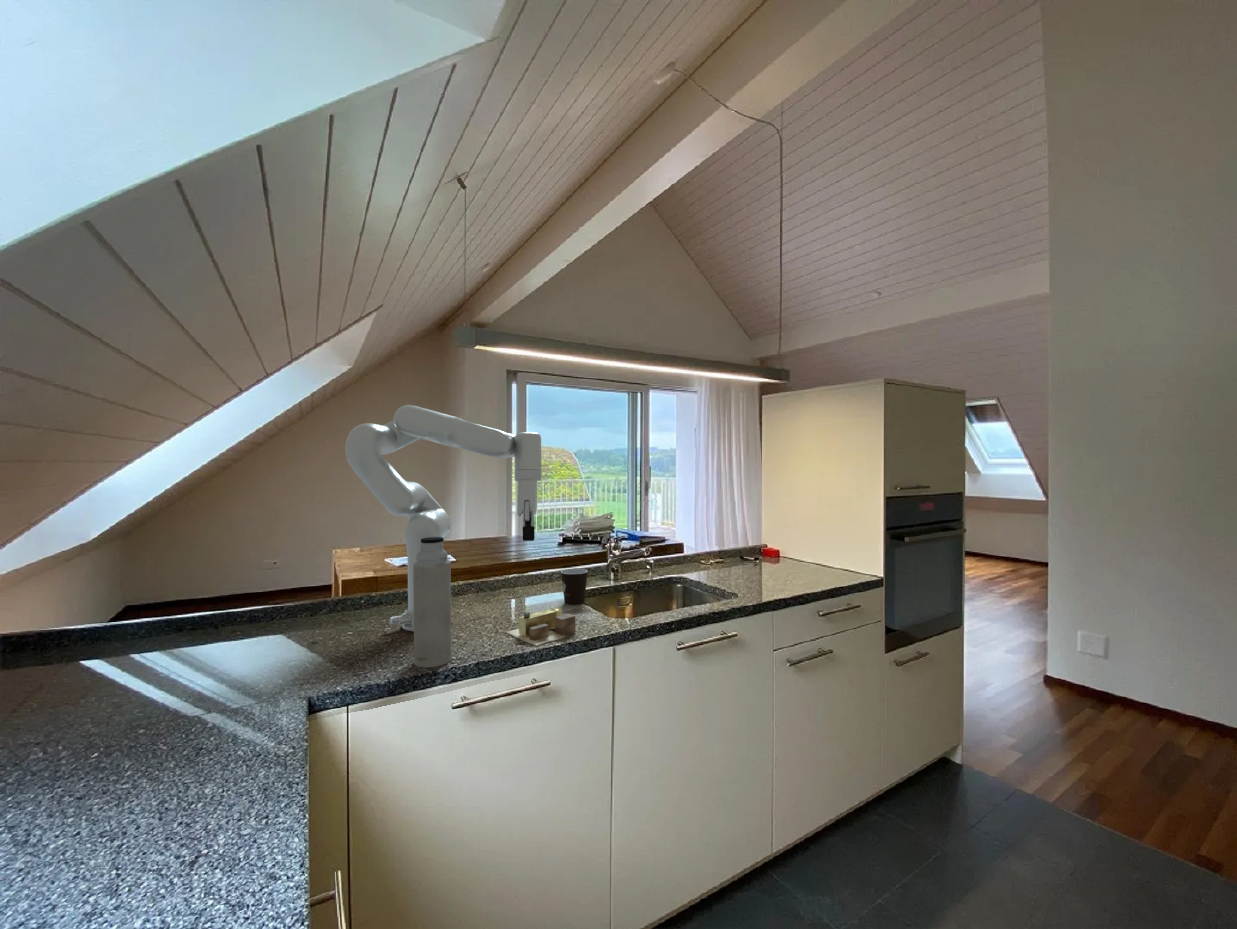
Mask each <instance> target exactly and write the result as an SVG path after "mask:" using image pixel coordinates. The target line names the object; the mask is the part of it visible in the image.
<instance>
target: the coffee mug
mask: <svg viewBox="0 0 1237 929" xmlns="http://www.w3.org/2000/svg"><path fill="white" fill-rule="evenodd" d="M560 576H561V583H562V591H563V592H562V593H563V599H564V600H563V601H564V604H565V605H567V606H577V605H582V604H585V600H586V592H587V591H586V589H587V582H588V580H587V579H588V570H587V569H584V568H566V569H562V570H561V571H560Z"/></svg>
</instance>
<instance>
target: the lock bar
mask: <svg viewBox="0 0 1237 929" xmlns="http://www.w3.org/2000/svg"><path fill="white" fill-rule="evenodd" d="M561 615H563V608H561V607H553V608H552V607H551V608H550V609H545V610H542V611H541V610H540V611H538V612H534V613H533V612H532V613H531V612H529V611H527V612H524V613H523V615H522V616H519V617H518V629H519V634H520V635H522V636H525V637H527V636H530V635H529V628H530V627H534V626H538V625H541V624H547V625H549V630H550V631H552V630H551V629H554V628H555V617H557V616H561Z"/></svg>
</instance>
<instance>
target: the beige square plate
mask: <svg viewBox="0 0 1237 929" xmlns="http://www.w3.org/2000/svg"><path fill="white" fill-rule="evenodd" d="M505 634H508V635H509V636H512V637H514V638H516V639H518V640H521V641H523V642H526V643H528V644H530V645H532V646H535V647H539V646H542V645H546V644H549V643H551V642H556V641H559V640H561V639H562V640H563V639H565V638H566V637H567V635H566V636H564V635H560V634H557V633H555V628H554V629H551V630H549V637H545V638H542V639H538V640H535V641H533V640H530V636H527V637H525V636H522V635H520V634H519V628H516V629H511V630H508V631H506V632H505ZM555 640H556V641H555Z"/></svg>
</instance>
